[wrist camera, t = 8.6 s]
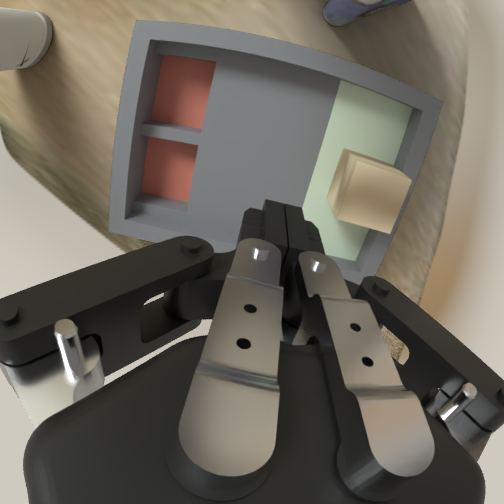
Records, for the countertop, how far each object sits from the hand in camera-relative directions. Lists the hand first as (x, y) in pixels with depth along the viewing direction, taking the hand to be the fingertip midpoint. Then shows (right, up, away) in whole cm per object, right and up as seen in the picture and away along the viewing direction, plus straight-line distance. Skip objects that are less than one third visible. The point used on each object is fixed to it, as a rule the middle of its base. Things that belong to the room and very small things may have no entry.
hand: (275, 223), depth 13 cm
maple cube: (+8, +5, +13) cm, 16 cm away
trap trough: (0, +8, +14) cm, 16 cm away
